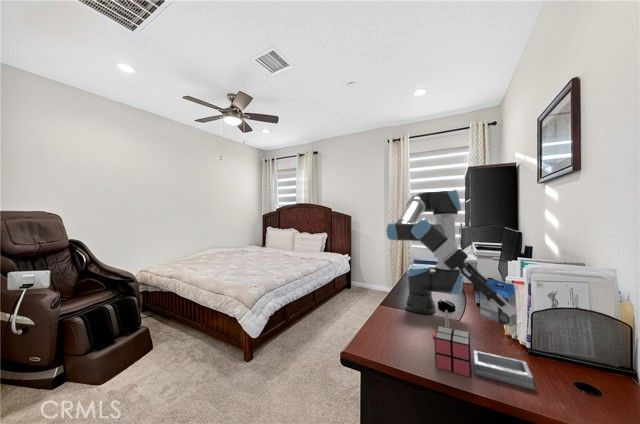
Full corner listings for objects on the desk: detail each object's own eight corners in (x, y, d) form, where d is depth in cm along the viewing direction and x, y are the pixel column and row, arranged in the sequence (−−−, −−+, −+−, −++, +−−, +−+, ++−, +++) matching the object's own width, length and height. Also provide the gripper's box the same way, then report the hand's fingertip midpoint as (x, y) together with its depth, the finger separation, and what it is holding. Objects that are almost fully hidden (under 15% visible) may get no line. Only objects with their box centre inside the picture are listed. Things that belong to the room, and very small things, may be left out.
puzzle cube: (471, 378, 73) (469, 345, 74) (435, 368, 79) (434, 337, 79) (470, 361, 82) (469, 332, 82) (438, 353, 87) (437, 325, 88)
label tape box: (479, 316, 80) (478, 279, 80) (487, 314, 81) (486, 278, 82) (509, 327, 72) (507, 286, 72) (517, 324, 73) (515, 284, 74)
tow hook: (430, 333, 103) (437, 343, 94) (428, 303, 104) (435, 310, 95) (451, 335, 102) (460, 345, 93) (449, 304, 103) (458, 310, 94)
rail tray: (473, 358, 84) (473, 349, 84) (525, 370, 77) (525, 360, 77) (475, 374, 75) (475, 364, 75) (533, 389, 68) (533, 378, 68)
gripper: (444, 257, 94) (496, 305, 85) (440, 267, 76) (505, 329, 67) (459, 244, 92) (514, 292, 83) (458, 251, 74) (529, 313, 65)
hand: (510, 309), depth 75 cm, fingers closed on label tape box, 8 cm apart
